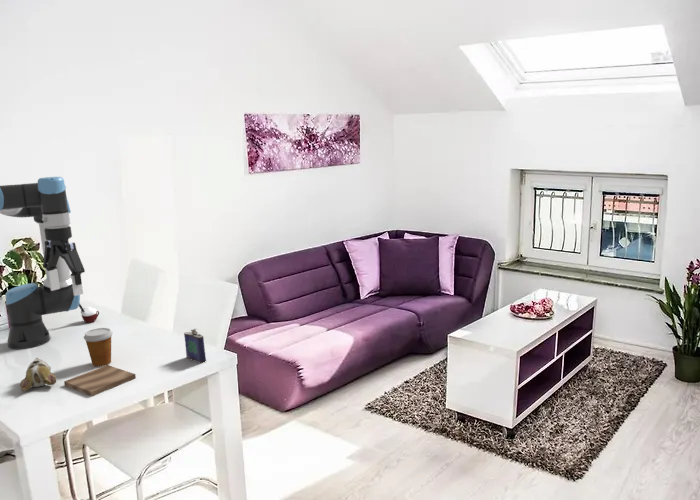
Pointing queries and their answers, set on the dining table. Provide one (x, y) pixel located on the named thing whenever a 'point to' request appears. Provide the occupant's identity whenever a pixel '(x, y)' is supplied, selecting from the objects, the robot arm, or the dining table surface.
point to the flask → (195, 346)
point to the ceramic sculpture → (38, 375)
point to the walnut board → (99, 380)
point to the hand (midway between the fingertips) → (66, 292)
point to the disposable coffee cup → (99, 346)
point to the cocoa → (88, 314)
